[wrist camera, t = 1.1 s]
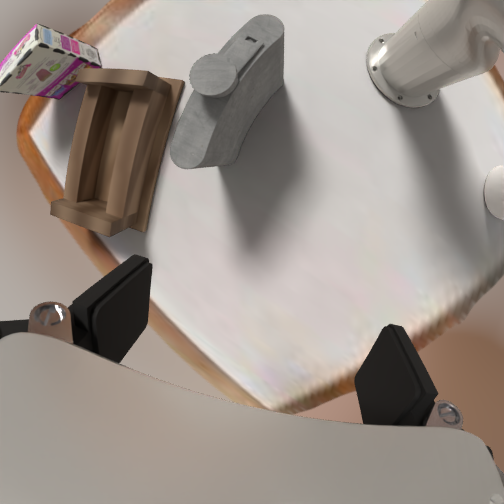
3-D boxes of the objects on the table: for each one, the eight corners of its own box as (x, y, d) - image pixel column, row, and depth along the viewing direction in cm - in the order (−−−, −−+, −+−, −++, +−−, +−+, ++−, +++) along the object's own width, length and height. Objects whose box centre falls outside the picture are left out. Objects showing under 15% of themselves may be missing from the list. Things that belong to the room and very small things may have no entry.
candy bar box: (97, 47, 34) (37, 21, 18) (102, 66, 35) (39, 43, 20) (54, 81, 36) (-7, 70, 20) (58, 100, 37) (-6, 93, 22)
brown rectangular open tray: (77, 207, 43) (43, 218, 35) (106, 74, 36) (74, 62, 27) (146, 230, 43) (117, 247, 35) (184, 81, 36) (161, 64, 27)
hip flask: (230, 169, 39) (184, 177, 20) (206, 155, 39) (142, 154, 20) (287, 77, 34) (291, 10, 15) (262, 64, 34) (245, -8, 15)
